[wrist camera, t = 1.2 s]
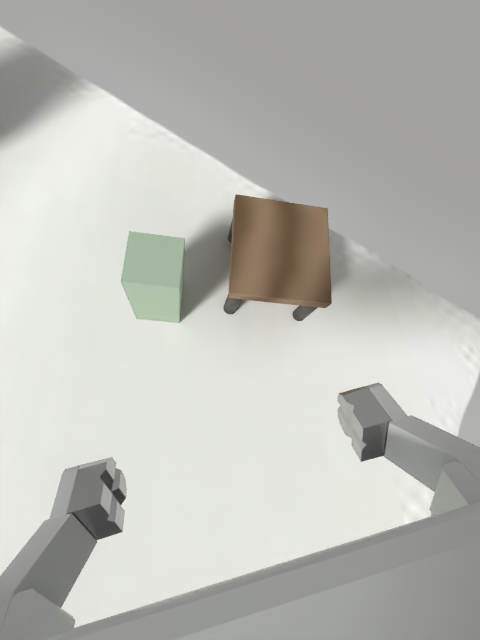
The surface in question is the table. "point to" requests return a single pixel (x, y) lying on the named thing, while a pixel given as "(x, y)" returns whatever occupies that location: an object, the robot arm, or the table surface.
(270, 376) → the table surface
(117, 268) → the table surface
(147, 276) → the green block
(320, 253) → the peg shelf
